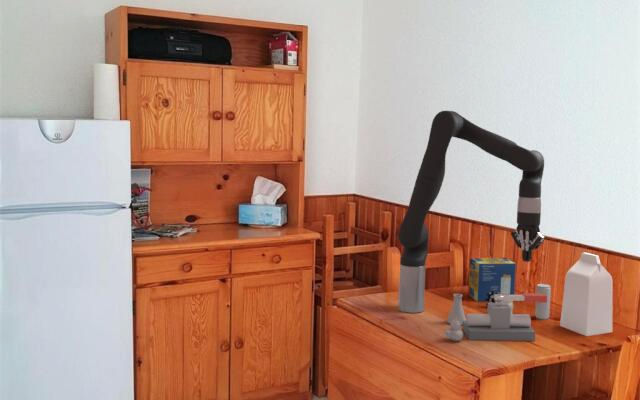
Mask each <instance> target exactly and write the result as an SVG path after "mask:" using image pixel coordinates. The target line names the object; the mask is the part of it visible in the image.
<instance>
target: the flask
mask: <svg viewBox="0 0 640 400" xmlns="http://www.w3.org/2000/svg"><path fill="white" fill-rule="evenodd" d="M462 298H463V294H462V293H453V301H452V302H453V303H452V306H451V309H450V311H449V314H448V316H447V318H446V323H447V324H449V325H450V323H451V321H452V320H453V319H456V317H457V320H458V321H459V323H460V324H461V326H463V321H467V316H466V314H465V311H464V308H463V302H462V300H463V299H462Z"/></svg>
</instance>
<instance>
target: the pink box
mask: <svg viewBox="0 0 640 400" xmlns="http://www.w3.org/2000/svg"><path fill="white" fill-rule="evenodd" d="M494 299H495V301H504V300H505V301H513V302H514V301H515V302H516V301H517V302H518V301H519V302H521V301H522V302H524V303H531V304H532V303H533V304H534V303H535V304H536V303H547V296H546V295H545V294H540V293H536V292H534V293H532V292H531V293H529V292H523V293H522V294H514V295H502V294H494Z"/></svg>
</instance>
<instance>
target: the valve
mask: <svg viewBox="0 0 640 400" xmlns="http://www.w3.org/2000/svg"><path fill="white" fill-rule="evenodd" d="M494 293H495V292H494V291H491V294H489V293H487V294H486V296H488V297H487V299H486V298H485V299H484V301H486V302H485V303H486V304H485V306H486V307H488V303H497V301H495V299H494V297H490V296H492V295H494ZM495 294H499V293H497V292H496V293H495ZM489 299H490V301H491V302H489ZM513 302H514V301H505V300H504V301H502V303H506V304H507V305H508V306H509V307H510V308H511V314H514V313H513V309H514V303H513Z"/></svg>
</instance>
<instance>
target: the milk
mask: <svg viewBox="0 0 640 400" xmlns="http://www.w3.org/2000/svg"><path fill="white" fill-rule="evenodd" d="M613 283H614V282H613V277H612V275H611V273H609V271H608V270H606V268H605V267H604V266H603V265H602V263H601V260H600V256H599V255H596V254H593V253H589V252H581V255H580V257H579V259H578V260H577V261H576V262H575V264H573V265H572V266H571V267H570V268H569V269H568V270H567V272H566V274H565V279H564V288H563V295H562V305H561V315H560V321H559V326H560V327H561V328H564V329H567V330H570V331H572V332H575V333H577V334H580V335H582V336H584V337H590V336H597V335H604V334H608V333H613V301H614V300H613V298H614V295H613V293H614V292H613V289H614V288H613V287H614V286H613Z"/></svg>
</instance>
